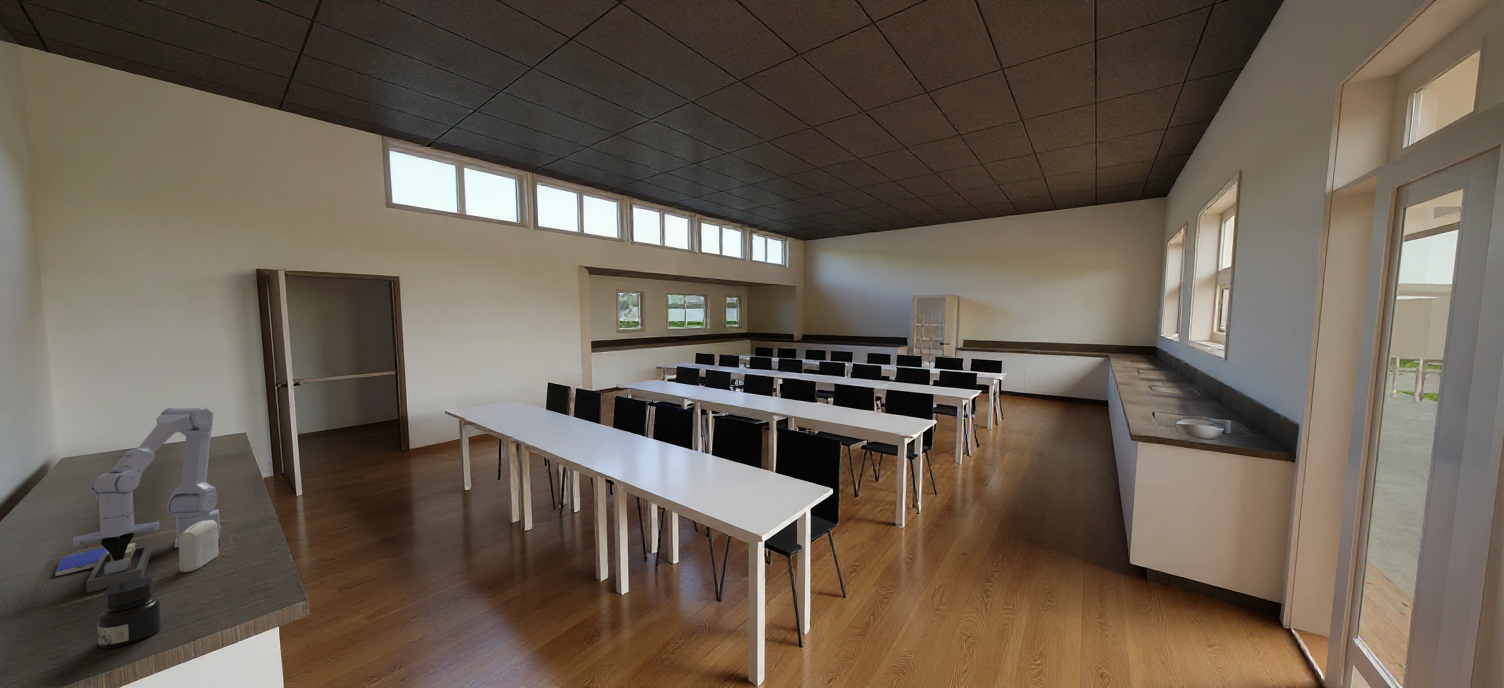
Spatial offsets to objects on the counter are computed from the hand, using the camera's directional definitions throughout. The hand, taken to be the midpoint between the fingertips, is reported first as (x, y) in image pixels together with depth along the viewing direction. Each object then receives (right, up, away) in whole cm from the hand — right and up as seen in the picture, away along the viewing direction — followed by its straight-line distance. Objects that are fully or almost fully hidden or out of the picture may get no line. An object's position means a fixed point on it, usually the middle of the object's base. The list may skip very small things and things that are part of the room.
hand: (119, 561), depth 134 cm
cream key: (-7, -1, +6) cm, 9 cm away
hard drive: (-18, -3, +6) cm, 20 cm away
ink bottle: (+37, -6, -26) cm, 45 cm away
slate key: (+3, -1, -3) cm, 5 cm away
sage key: (-3, -1, +3) cm, 5 cm away
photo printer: (+15, -4, +7) cm, 17 cm away
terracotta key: (0, -3, 0) cm, 3 cm away
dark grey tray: (-2, -4, +2) cm, 4 cm away
